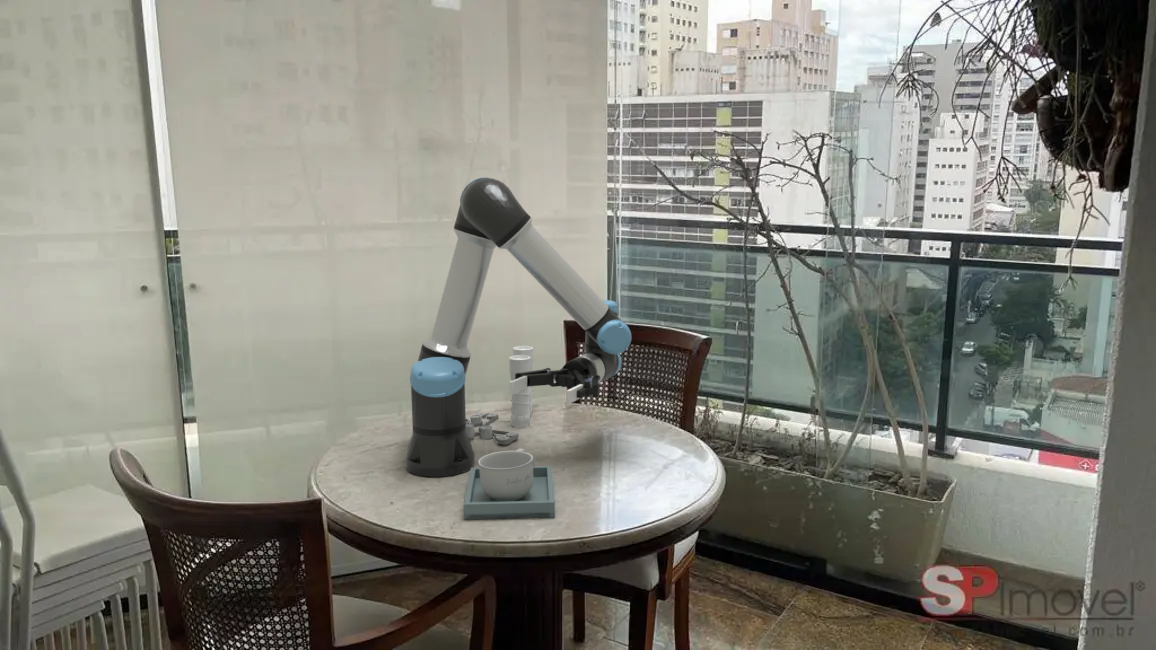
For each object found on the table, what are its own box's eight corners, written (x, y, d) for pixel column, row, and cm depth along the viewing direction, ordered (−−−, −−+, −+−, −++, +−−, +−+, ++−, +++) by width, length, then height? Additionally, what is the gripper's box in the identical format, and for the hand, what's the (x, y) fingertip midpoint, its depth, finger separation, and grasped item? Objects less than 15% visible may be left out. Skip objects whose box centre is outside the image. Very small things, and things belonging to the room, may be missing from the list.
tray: (464, 519, 157) (463, 504, 157) (471, 481, 177) (471, 467, 176) (554, 517, 158) (554, 502, 158) (551, 479, 178) (551, 465, 177)
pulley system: (461, 455, 196) (523, 445, 201) (459, 436, 195) (521, 426, 200) (440, 426, 221) (495, 418, 226) (438, 409, 221) (494, 401, 226)
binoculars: (530, 428, 213) (529, 359, 210) (509, 428, 213) (508, 359, 210) (534, 409, 230) (533, 345, 227) (514, 409, 230) (513, 345, 227)
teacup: (512, 511, 159) (512, 471, 157) (467, 499, 164) (466, 460, 163) (552, 487, 170) (552, 450, 169) (509, 477, 176) (508, 441, 175)
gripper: (631, 396, 189) (592, 419, 170) (534, 381, 199) (487, 401, 180) (633, 363, 187) (593, 383, 168) (535, 350, 198) (487, 367, 179)
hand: (538, 392), depth 174 cm, fingers open, 13 cm apart
